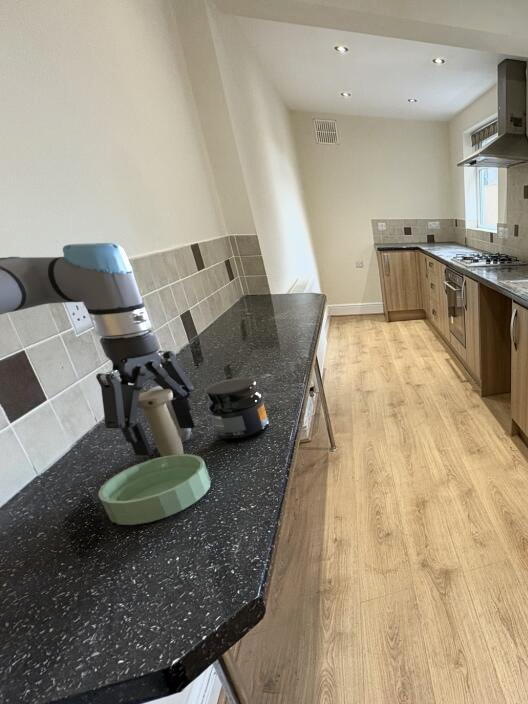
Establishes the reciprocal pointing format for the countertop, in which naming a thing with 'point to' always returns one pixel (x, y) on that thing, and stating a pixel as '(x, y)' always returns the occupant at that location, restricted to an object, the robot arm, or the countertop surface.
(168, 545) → the countertop surface
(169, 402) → the salt shaker
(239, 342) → the countertop surface
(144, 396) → the handle
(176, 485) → the bowl
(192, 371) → the countertop surface
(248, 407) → the supplement container
